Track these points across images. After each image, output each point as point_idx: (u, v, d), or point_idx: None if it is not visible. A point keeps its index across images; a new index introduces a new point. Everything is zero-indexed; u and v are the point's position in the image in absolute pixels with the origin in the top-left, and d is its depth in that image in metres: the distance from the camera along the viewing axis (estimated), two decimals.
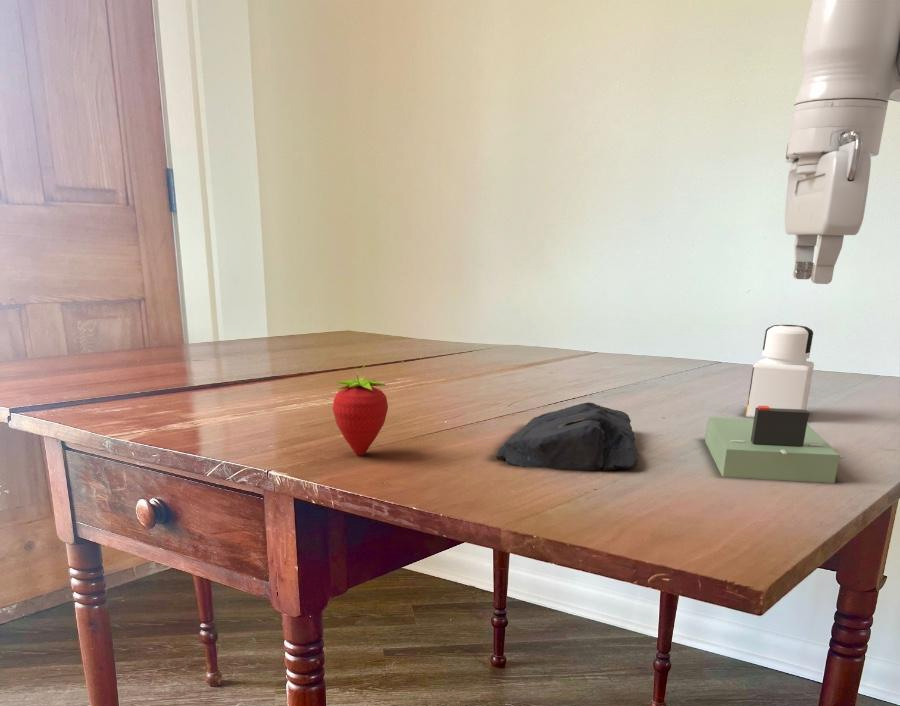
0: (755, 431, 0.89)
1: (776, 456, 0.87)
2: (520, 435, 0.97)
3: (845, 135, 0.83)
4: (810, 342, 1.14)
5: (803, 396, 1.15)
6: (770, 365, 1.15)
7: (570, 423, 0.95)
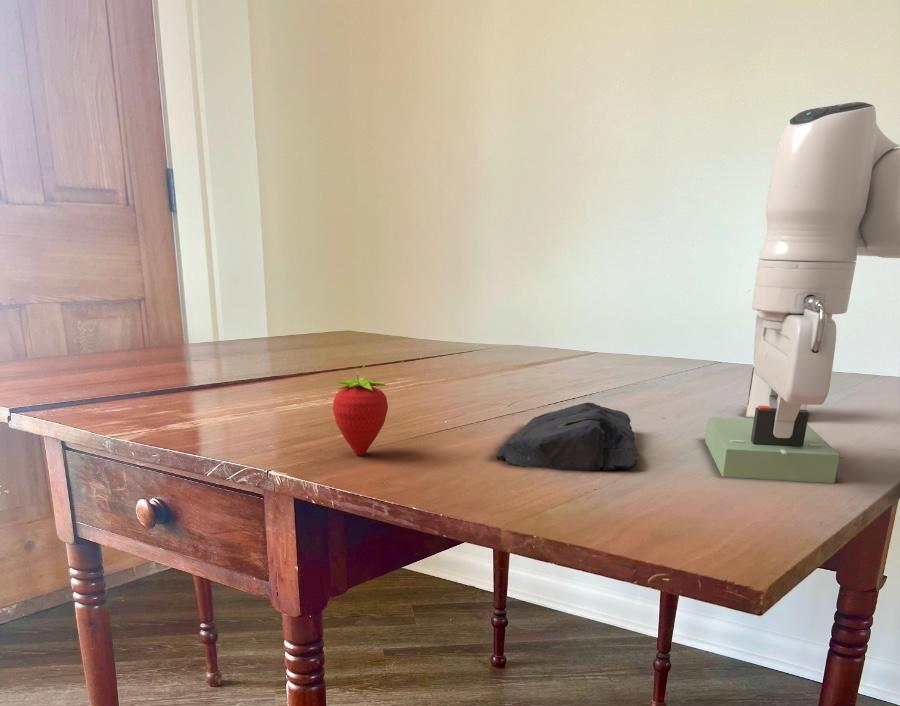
0: (755, 431, 0.89)
1: (776, 456, 0.87)
2: (520, 435, 0.97)
3: (810, 301, 0.79)
4: None
5: None
6: None
7: (570, 423, 0.95)
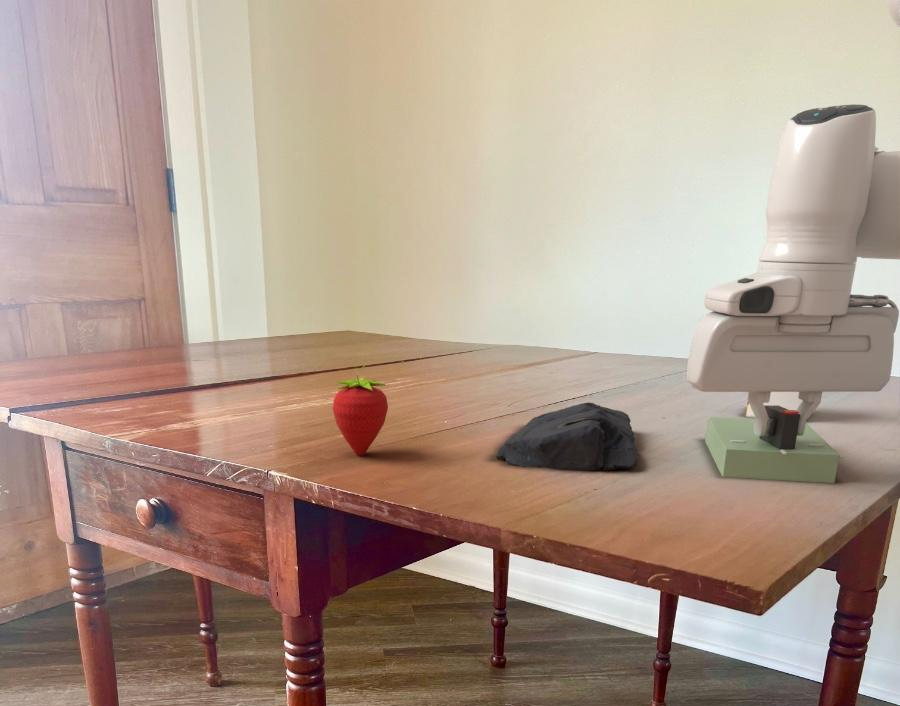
0: (796, 436, 0.88)
1: (776, 456, 0.87)
2: (520, 435, 0.97)
3: (867, 299, 0.85)
4: None
5: None
6: None
7: (570, 423, 0.95)
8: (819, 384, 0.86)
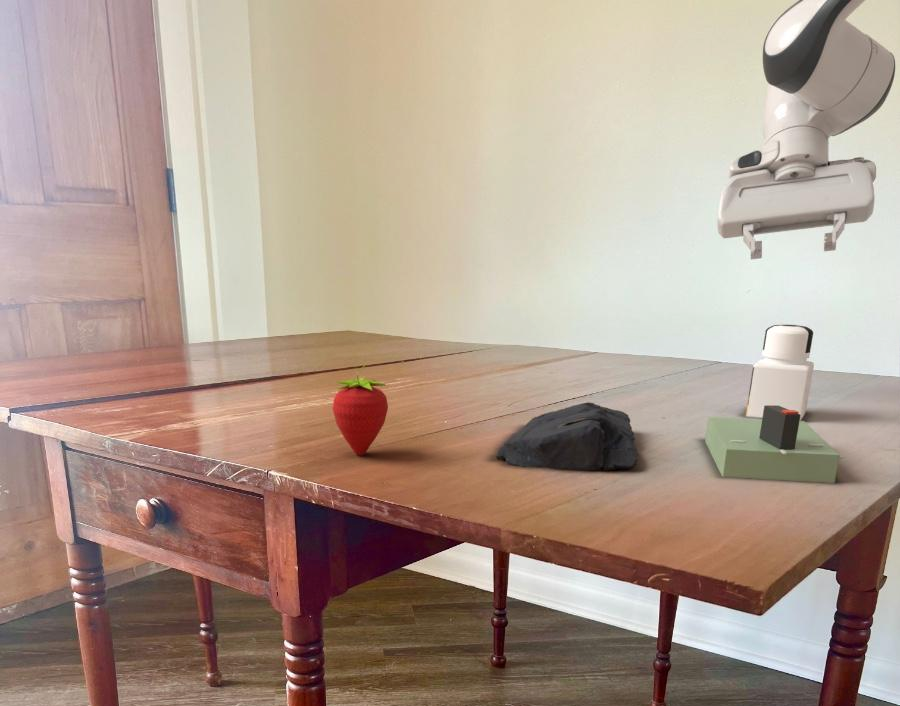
0: (796, 436, 0.88)
1: (776, 456, 0.87)
2: (520, 435, 0.97)
3: (846, 160, 1.19)
4: (810, 342, 1.14)
5: (803, 396, 1.15)
6: (770, 365, 1.15)
7: (570, 423, 0.95)
8: (813, 207, 1.17)
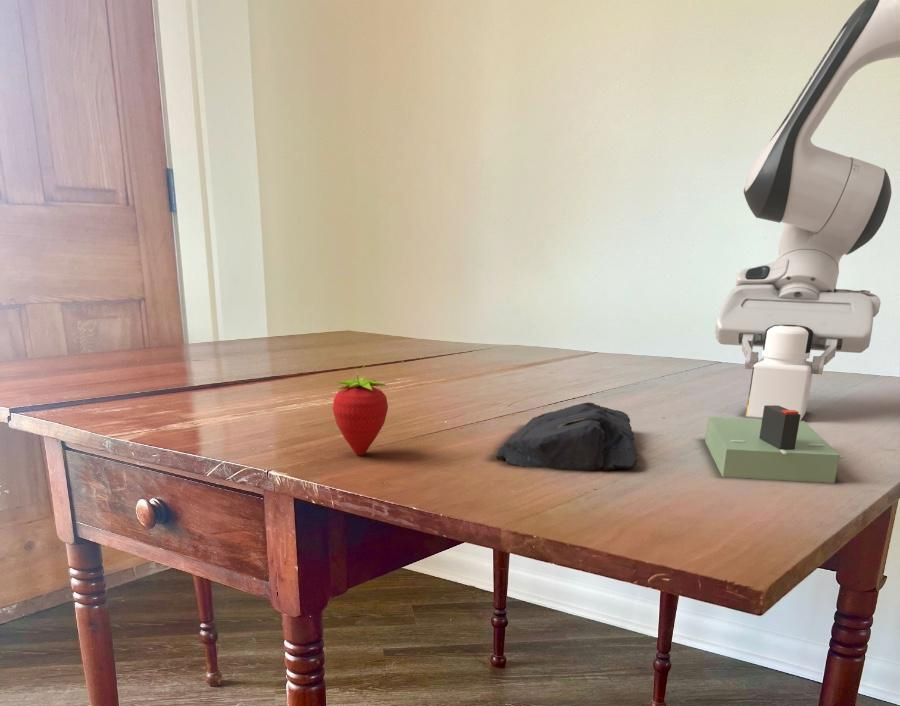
0: (796, 436, 0.88)
1: (776, 456, 0.87)
2: (520, 435, 0.97)
3: (852, 290, 1.18)
4: (810, 342, 1.14)
5: (803, 396, 1.15)
6: (770, 365, 1.15)
7: (570, 423, 0.95)
8: None
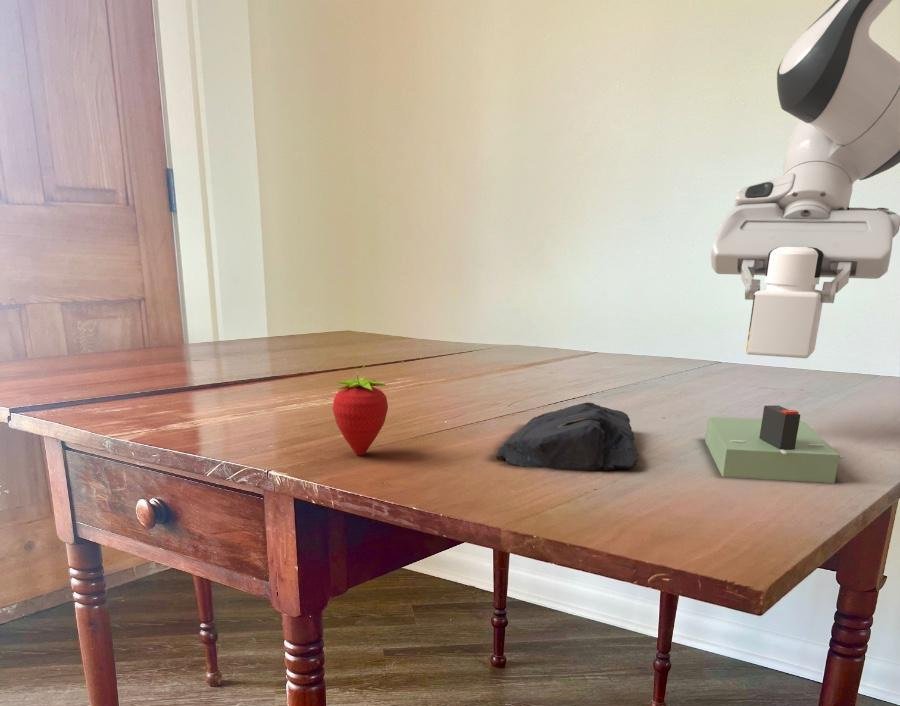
0: (796, 436, 0.88)
1: (776, 456, 0.87)
2: (520, 435, 0.97)
3: (868, 208, 1.03)
4: (820, 265, 0.99)
5: (812, 327, 0.99)
6: (773, 292, 1.00)
7: (570, 423, 0.95)
8: None
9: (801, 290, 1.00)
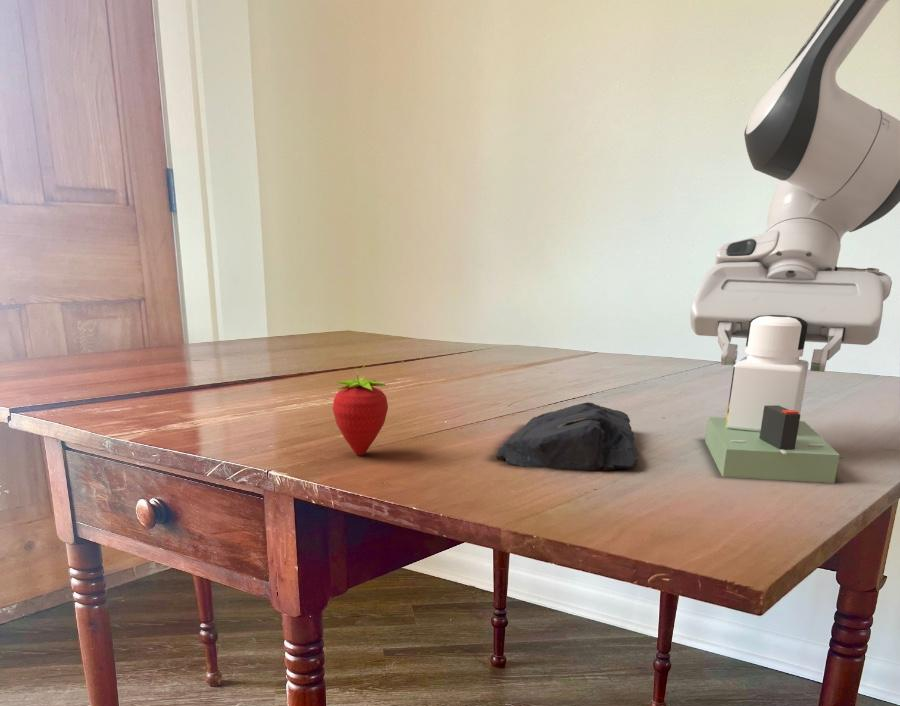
0: (796, 436, 0.88)
1: (776, 456, 0.87)
2: (520, 435, 0.97)
3: (857, 268, 0.96)
4: (804, 336, 0.93)
5: (795, 403, 0.93)
6: (754, 365, 0.93)
7: (570, 423, 0.95)
8: (806, 315, 0.94)
9: (784, 363, 0.93)
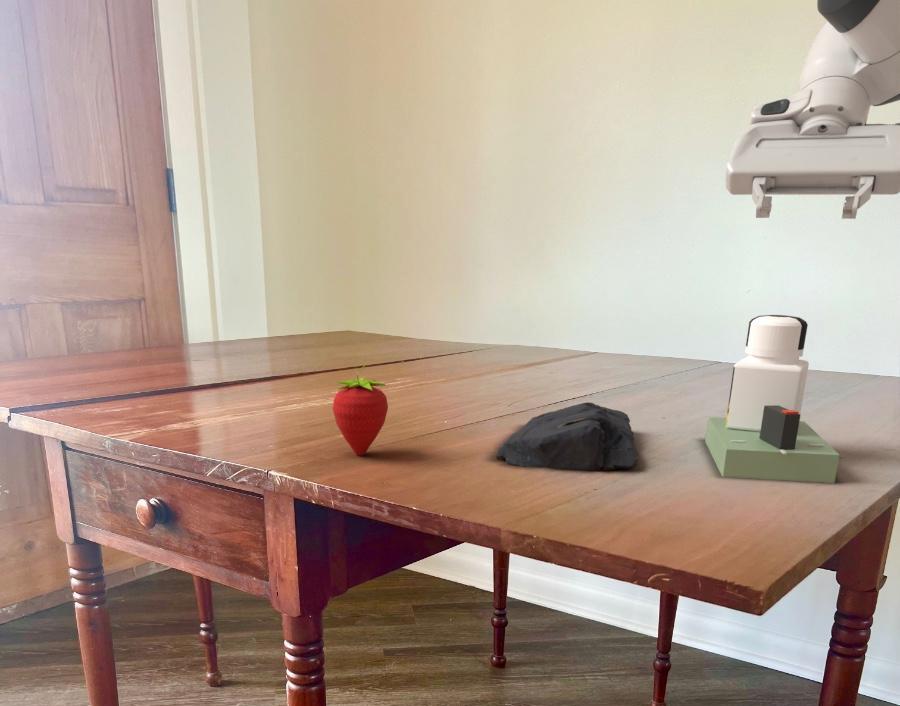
0: (796, 436, 0.88)
1: (776, 456, 0.87)
2: (520, 435, 0.97)
3: (886, 124, 1.01)
4: (804, 336, 0.93)
5: (795, 403, 0.93)
6: (754, 365, 0.93)
7: (570, 423, 0.95)
8: (838, 165, 0.99)
9: (784, 363, 0.93)
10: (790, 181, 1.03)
